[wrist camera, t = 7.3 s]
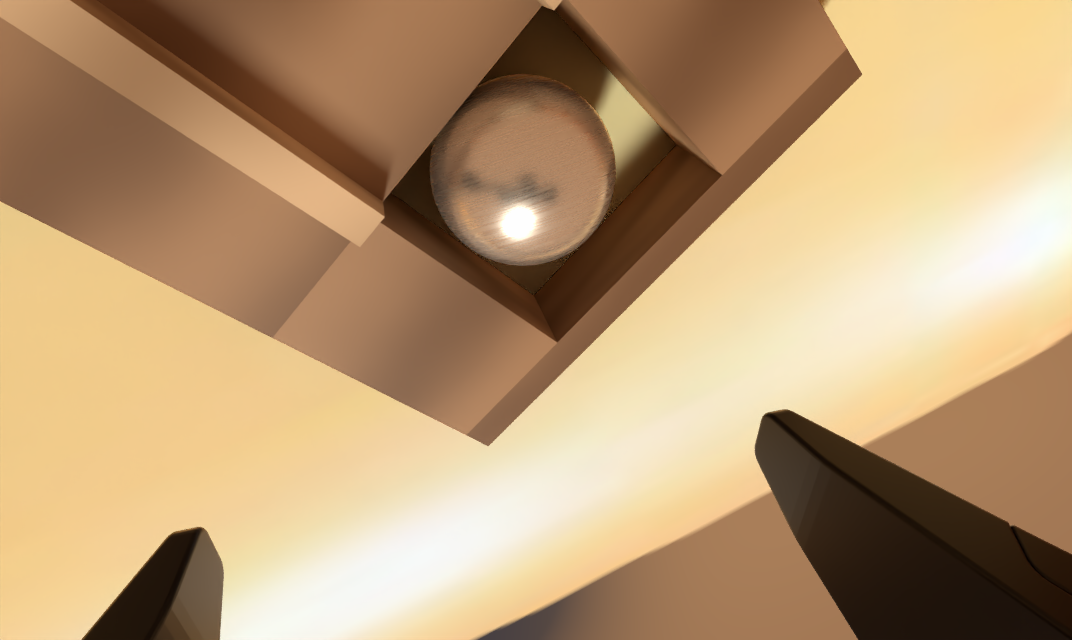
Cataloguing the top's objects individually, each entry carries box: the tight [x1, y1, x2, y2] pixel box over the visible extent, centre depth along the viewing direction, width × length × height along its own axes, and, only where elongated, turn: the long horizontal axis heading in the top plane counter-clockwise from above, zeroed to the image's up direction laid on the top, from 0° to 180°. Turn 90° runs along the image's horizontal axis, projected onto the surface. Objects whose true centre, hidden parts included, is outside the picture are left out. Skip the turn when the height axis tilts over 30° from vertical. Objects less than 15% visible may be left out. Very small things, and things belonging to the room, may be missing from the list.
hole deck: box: [0, 0, 862, 446], centre depth 14 cm, size 20×16×4 cm
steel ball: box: [430, 74, 616, 266], centre depth 16 cm, size 5×5×5 cm
